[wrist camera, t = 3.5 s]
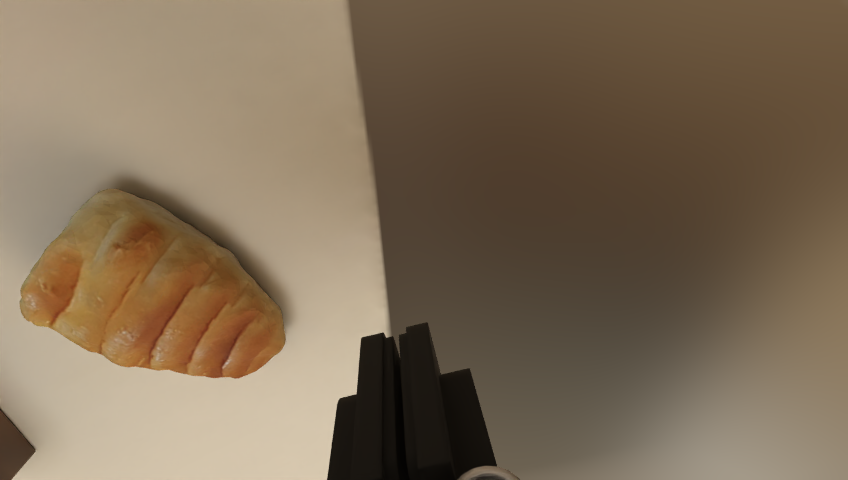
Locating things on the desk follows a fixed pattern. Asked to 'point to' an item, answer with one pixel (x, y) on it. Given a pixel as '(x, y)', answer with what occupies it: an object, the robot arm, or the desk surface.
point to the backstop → (12, 449)
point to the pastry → (151, 292)
